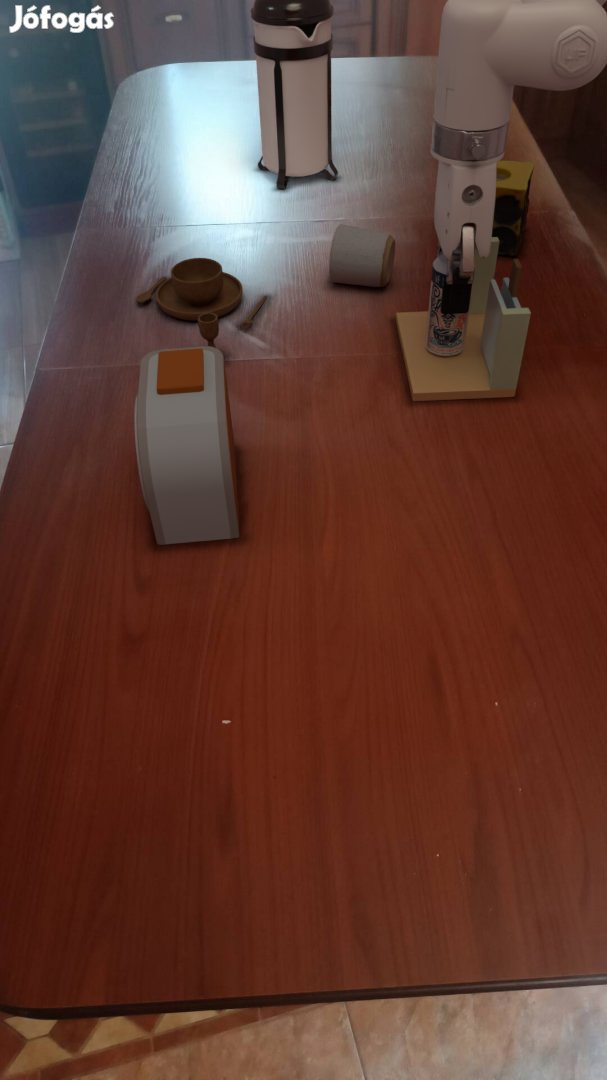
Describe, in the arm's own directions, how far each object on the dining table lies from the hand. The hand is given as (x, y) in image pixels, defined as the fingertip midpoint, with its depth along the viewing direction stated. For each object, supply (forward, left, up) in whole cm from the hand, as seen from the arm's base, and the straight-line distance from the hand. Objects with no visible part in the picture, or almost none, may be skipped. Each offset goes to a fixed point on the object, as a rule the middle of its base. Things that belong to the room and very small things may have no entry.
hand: (450, 298), depth 94 cm
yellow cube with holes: (-11, -31, -8) cm, 34 cm away
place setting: (+33, -12, -8) cm, 36 cm away
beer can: (0, 0, -7) cm, 7 cm away
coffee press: (+18, -60, -8) cm, 63 cm away
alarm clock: (+30, +23, -8) cm, 38 cm away
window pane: (-6, +3, -6) cm, 10 cm away
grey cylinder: (+9, -21, -8) cm, 24 cm away
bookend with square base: (-1, 0, -8) cm, 8 cm away
